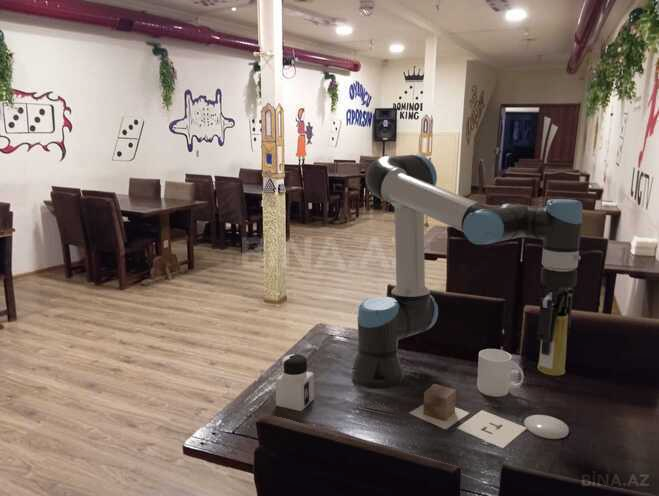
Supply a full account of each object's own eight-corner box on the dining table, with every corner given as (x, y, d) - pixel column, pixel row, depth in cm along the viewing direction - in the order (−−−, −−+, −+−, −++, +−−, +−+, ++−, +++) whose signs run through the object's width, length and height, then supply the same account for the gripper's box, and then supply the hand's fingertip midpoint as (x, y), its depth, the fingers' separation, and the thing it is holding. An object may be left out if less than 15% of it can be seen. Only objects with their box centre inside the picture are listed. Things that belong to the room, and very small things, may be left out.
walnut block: (423, 414, 131) (424, 392, 130) (433, 404, 136) (434, 383, 135) (445, 421, 128) (446, 399, 127) (454, 411, 133) (455, 389, 131)
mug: (521, 402, 137) (523, 365, 135) (475, 394, 142) (476, 358, 140) (523, 389, 145) (525, 353, 143) (479, 381, 150) (481, 346, 148)
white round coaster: (516, 427, 125) (517, 425, 125) (535, 412, 132) (535, 410, 132) (558, 444, 118) (558, 442, 118) (575, 427, 125) (575, 425, 125)
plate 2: (456, 429, 125) (456, 427, 125) (481, 411, 133) (481, 409, 133) (502, 449, 117) (502, 448, 116) (526, 428, 125) (526, 427, 125)
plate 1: (408, 414, 132) (408, 412, 132) (433, 399, 140) (433, 398, 139) (445, 430, 124) (445, 429, 124) (469, 413, 132) (469, 412, 132)
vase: (537, 373, 121) (541, 315, 118) (537, 363, 126) (541, 307, 123) (565, 377, 118) (571, 318, 116) (564, 366, 124) (569, 310, 121)
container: (314, 398, 140) (314, 354, 138) (301, 412, 133) (300, 365, 131) (289, 393, 144) (288, 349, 141) (275, 406, 137) (274, 360, 134)
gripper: (559, 278, 108) (550, 380, 113) (591, 263, 121) (583, 355, 126) (524, 271, 114) (518, 369, 118) (559, 258, 126) (552, 347, 131)
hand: (551, 362), depth 122 cm, fingers closed on vase, 6 cm apart
